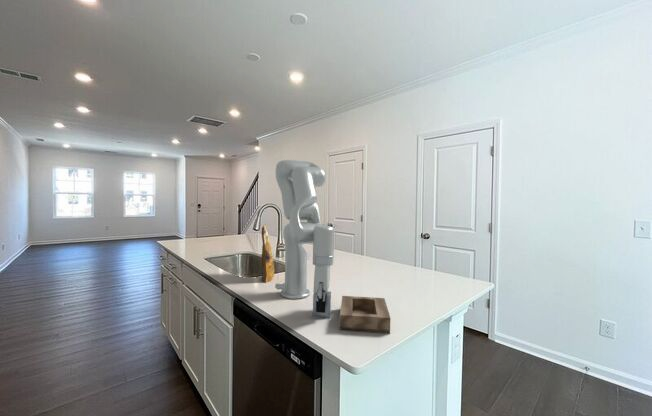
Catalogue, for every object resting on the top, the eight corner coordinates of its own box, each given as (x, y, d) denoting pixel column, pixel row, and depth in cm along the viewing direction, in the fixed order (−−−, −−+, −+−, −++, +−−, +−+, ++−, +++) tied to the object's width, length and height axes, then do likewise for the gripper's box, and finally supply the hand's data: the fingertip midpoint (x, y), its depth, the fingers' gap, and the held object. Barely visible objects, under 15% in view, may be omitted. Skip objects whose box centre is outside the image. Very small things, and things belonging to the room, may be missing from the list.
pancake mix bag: (256, 283, 137) (257, 226, 137) (263, 273, 157) (264, 223, 156) (270, 283, 138) (271, 226, 137) (275, 273, 157) (276, 223, 156)
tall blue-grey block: (312, 317, 100) (313, 294, 100) (314, 312, 105) (315, 290, 104) (329, 318, 99) (330, 295, 99) (330, 313, 104) (331, 291, 104)
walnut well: (339, 330, 90) (339, 314, 90) (341, 308, 108) (342, 295, 108) (390, 333, 89) (390, 318, 89) (384, 311, 107) (384, 298, 106)
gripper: (316, 255, 110) (315, 298, 111) (309, 264, 93) (308, 316, 93) (335, 255, 110) (334, 299, 110) (331, 265, 92) (330, 317, 93)
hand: (322, 306), depth 102 cm, fingers open, 9 cm apart
